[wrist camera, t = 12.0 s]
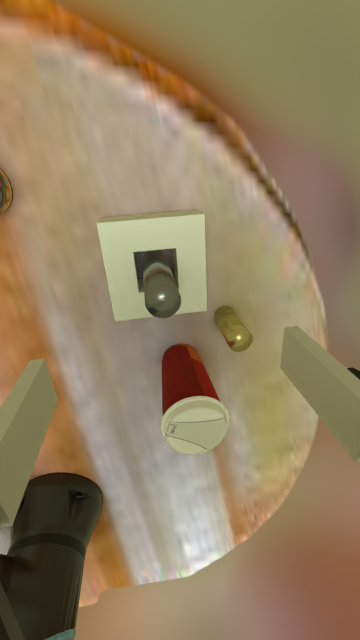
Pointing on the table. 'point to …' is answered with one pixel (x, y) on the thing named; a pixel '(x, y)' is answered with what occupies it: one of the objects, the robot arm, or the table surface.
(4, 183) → the pill bottle
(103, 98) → the table surface
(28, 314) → the table surface
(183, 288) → the hole block
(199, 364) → the paper cup
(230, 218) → the table surface
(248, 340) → the short pin
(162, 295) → the long pin
